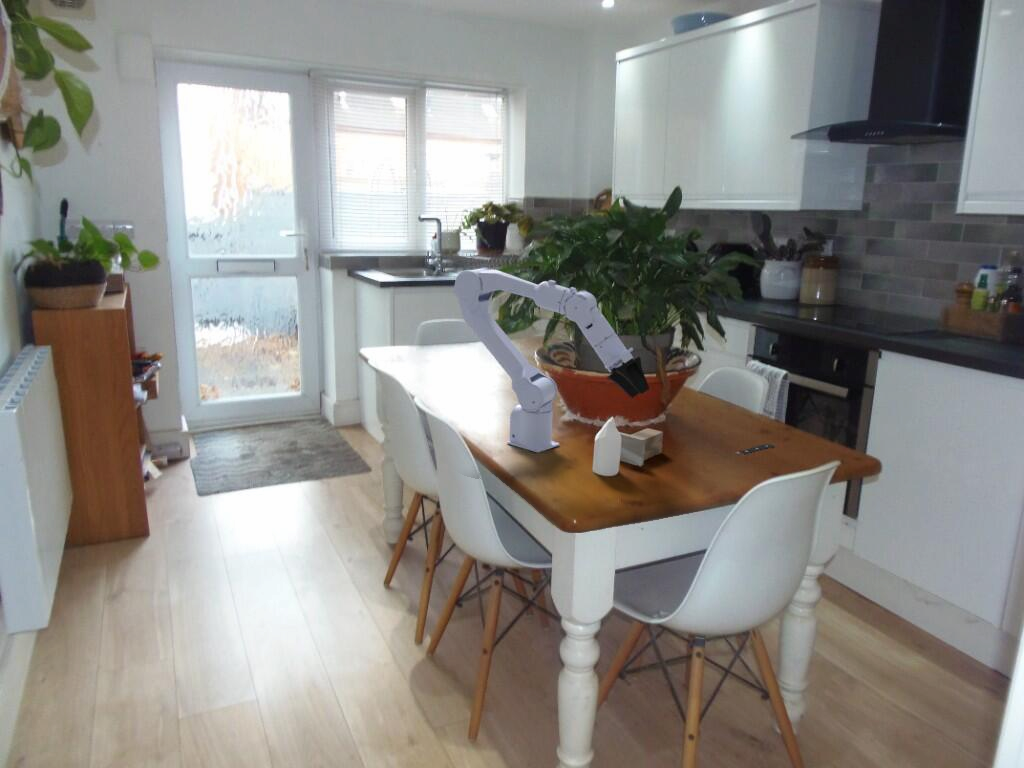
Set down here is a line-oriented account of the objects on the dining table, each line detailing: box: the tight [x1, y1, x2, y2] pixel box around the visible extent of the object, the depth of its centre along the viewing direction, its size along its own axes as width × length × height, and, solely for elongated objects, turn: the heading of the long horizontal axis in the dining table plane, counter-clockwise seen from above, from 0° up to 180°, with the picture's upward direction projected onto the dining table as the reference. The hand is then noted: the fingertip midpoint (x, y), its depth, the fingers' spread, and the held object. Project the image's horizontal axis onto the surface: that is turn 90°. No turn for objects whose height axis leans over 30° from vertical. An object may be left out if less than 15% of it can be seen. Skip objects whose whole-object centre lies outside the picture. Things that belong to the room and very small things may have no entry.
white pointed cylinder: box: [592, 416, 621, 477], centre depth 155 cm, size 6×12×6 cm
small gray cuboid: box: [618, 427, 664, 467], centre depth 166 cm, size 11×7×6 cm, turn 138°
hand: (640, 393), depth 159 cm, fingers open, 7 cm apart
